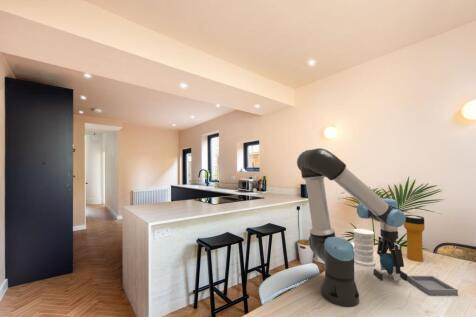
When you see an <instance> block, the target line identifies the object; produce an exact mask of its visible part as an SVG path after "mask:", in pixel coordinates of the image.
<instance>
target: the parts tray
mask: <svg viewBox="0 0 476 317" xmlns="http://www.w3.org/2000/svg"><path fill="white" fill-rule="evenodd" d="M407 283H409V284H411V285H412V286H413V287H415V288H417V289H418V290H420V291H421V292H423V293H424V294H426V295H427V296H429V297H431V296H432V297H434V296H435V297H436V296H437V297H438V296H440V297H441V296H442V297H443V296H444V297H451V296H452V297H453V296H454V297H457V296H459V290H458V289H457V288H455V287H454V286H452V285H450V284H448V283H446V282H444V281H443V280H441V279H439V278H437V277H435V276H433V275H407Z"/></svg>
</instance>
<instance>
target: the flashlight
mask: <svg viewBox="0 0 476 317" xmlns="http://www.w3.org/2000/svg"><path fill="white" fill-rule="evenodd" d="M405 217H406V220H405V223H404V224H403V228H404V229H405V230H406V257H407V259H409V260H411V261H416V262H423V260H424V258H423V256H424V255H423V254H424V253H423V251H424V249H423V232H424V231H425V217H424V216H419V215H413V214H405Z"/></svg>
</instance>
